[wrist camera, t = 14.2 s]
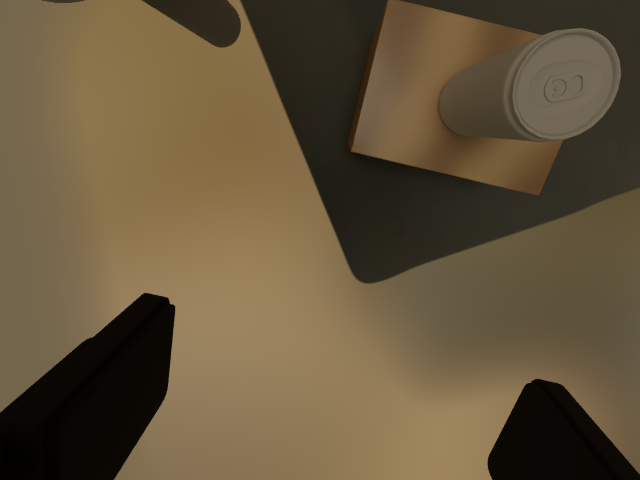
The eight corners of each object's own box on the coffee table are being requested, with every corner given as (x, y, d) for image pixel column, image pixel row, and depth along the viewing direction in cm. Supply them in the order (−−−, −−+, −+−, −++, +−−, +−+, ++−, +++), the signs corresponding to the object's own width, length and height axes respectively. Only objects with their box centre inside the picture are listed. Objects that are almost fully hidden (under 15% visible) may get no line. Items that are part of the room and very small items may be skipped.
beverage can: (433, 76, 26) (507, 39, 15) (500, 61, 26) (628, 11, 14) (440, 141, 28) (511, 152, 16) (502, 128, 27) (621, 131, 16)
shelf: (347, 143, 40) (350, 151, 28) (372, 38, 37) (388, -3, 25) (480, 174, 41) (539, 196, 29) (518, 73, 37) (602, 49, 25)
